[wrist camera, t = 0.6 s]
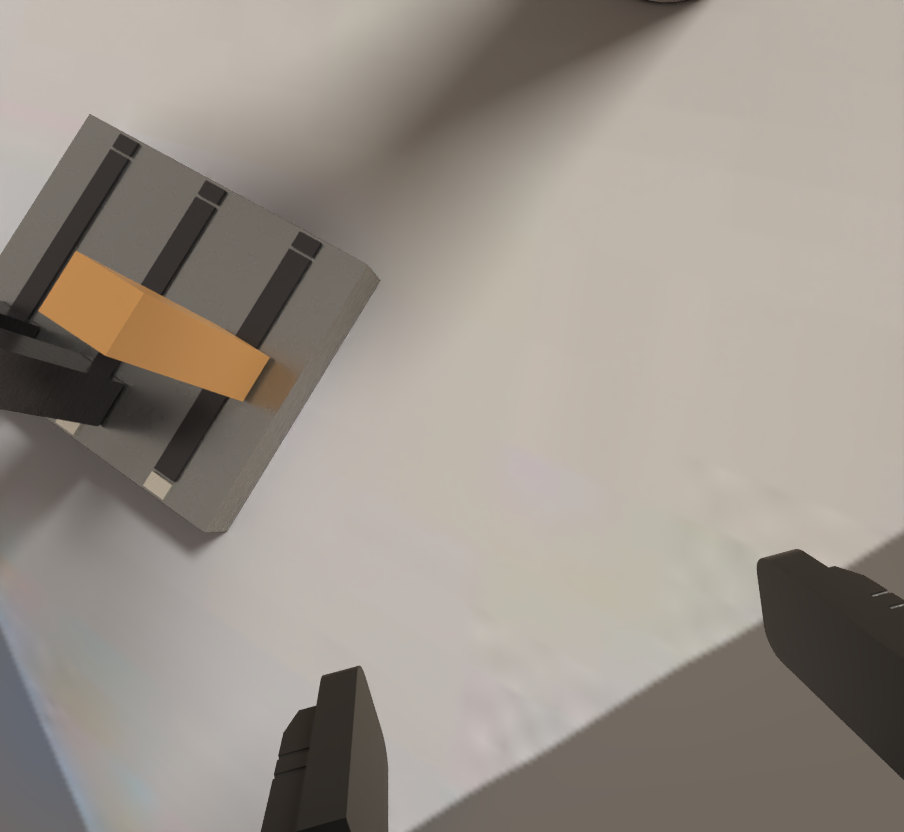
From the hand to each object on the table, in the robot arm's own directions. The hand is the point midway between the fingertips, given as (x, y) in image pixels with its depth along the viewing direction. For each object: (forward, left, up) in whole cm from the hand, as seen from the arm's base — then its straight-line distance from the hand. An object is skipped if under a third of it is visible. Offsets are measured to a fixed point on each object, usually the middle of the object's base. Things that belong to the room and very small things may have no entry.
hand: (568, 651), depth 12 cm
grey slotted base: (-14, -26, -23) cm, 38 cm away
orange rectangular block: (-11, -20, -20) cm, 30 cm away
